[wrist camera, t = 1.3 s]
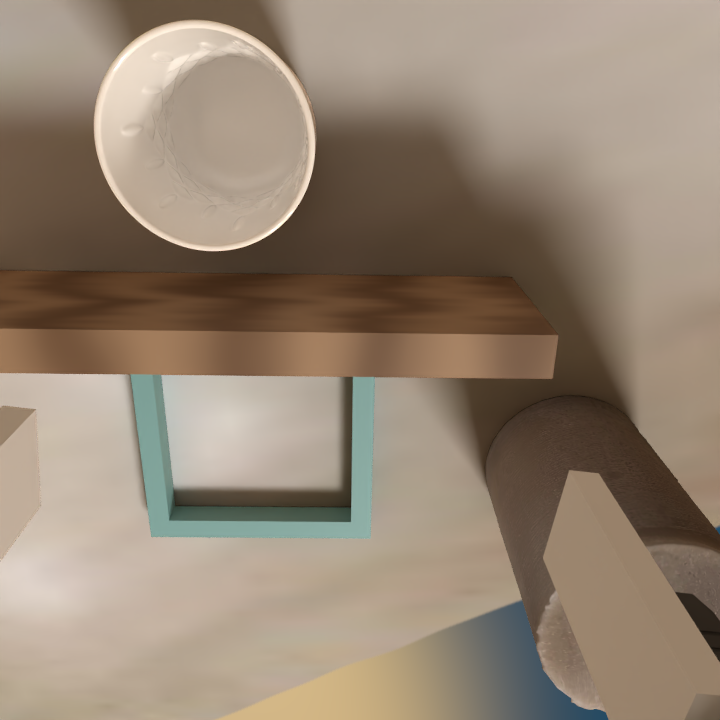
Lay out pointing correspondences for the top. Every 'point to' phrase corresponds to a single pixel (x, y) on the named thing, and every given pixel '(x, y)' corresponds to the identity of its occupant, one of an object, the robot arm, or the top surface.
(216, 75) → the white cup
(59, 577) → the top surface
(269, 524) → the keeper frame
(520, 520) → the pillar candle
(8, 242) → the top surface
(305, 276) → the brown wooden board
